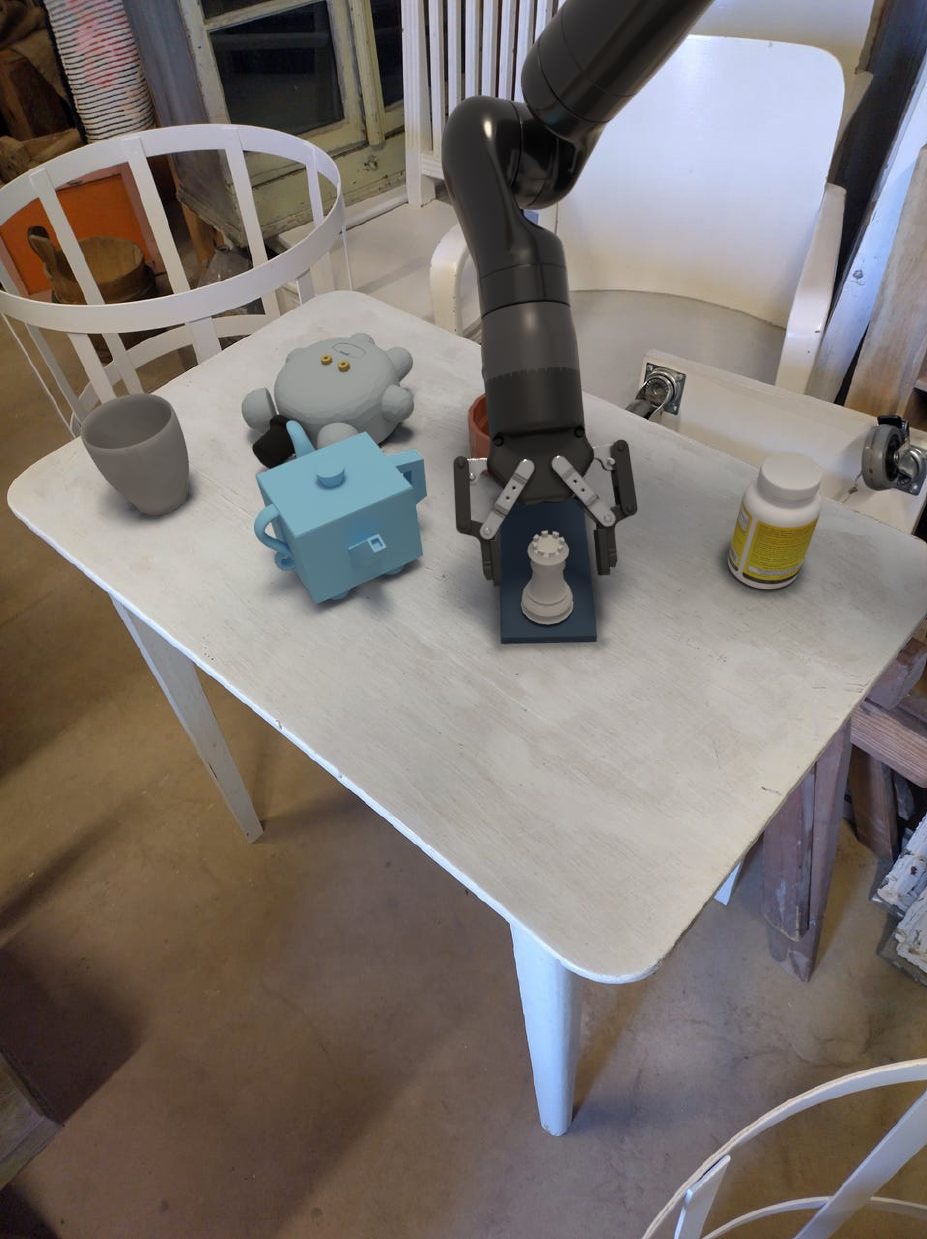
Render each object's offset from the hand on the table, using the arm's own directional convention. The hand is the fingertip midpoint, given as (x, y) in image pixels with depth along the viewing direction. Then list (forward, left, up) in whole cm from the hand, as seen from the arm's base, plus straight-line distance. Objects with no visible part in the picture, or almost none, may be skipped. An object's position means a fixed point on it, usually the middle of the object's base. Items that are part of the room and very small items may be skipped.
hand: (551, 580), depth 65 cm
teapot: (+18, -9, -6) cm, 21 cm away
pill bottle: (-19, -6, -6) cm, 21 cm away
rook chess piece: (0, -2, -5) cm, 6 cm away
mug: (+40, -19, -6) cm, 45 cm away
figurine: (+22, -28, -6) cm, 36 cm away
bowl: (+2, -23, -6) cm, 24 cm away
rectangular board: (0, -7, -6) cm, 9 cm away
